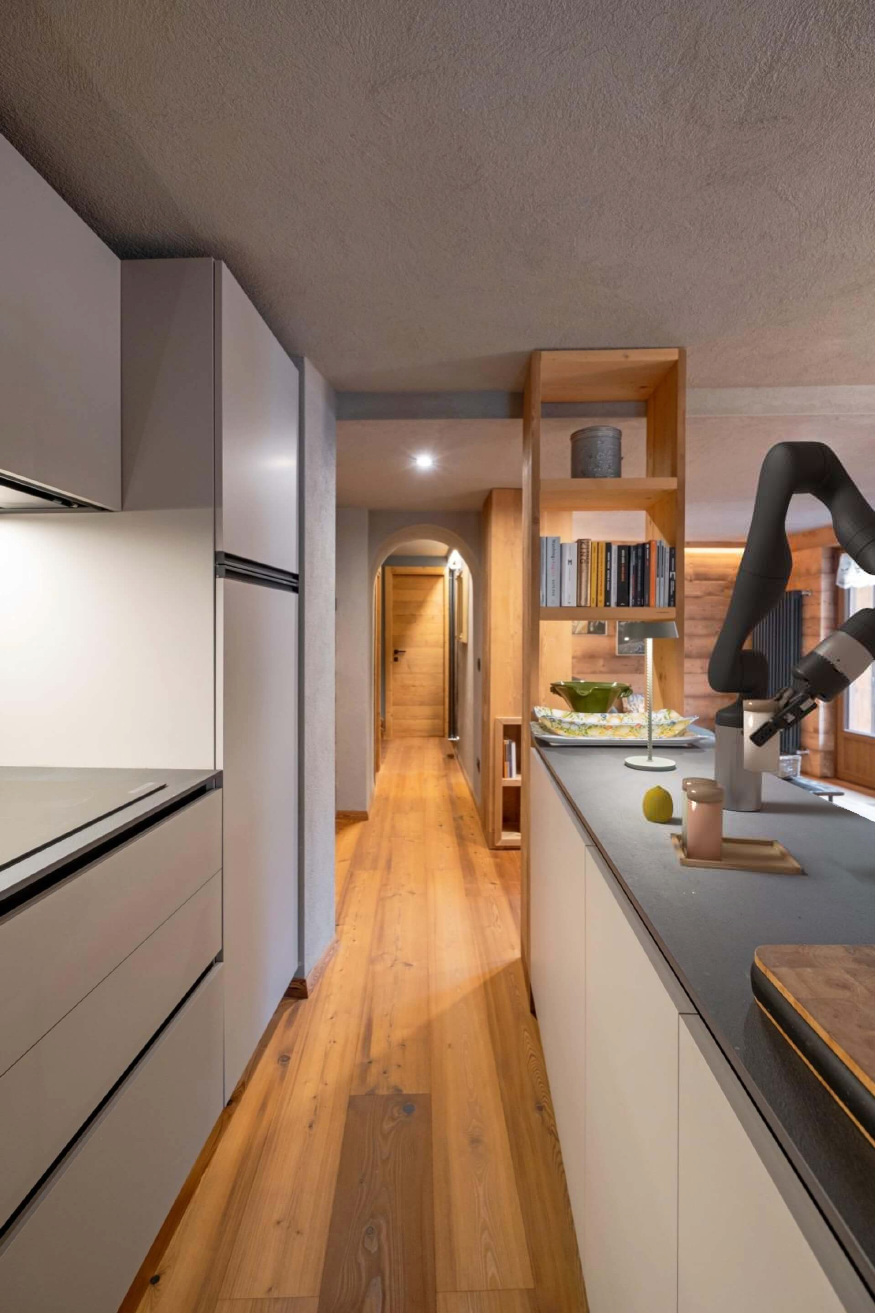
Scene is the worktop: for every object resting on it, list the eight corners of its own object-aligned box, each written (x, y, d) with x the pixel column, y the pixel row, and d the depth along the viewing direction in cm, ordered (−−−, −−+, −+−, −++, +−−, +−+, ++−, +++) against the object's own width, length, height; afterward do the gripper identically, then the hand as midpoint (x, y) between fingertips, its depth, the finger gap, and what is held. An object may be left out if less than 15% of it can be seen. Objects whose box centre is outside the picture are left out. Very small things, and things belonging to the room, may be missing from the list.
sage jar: (679, 840, 115) (680, 776, 114) (712, 843, 113) (714, 778, 113) (683, 851, 109) (684, 783, 109) (719, 853, 108) (720, 785, 108)
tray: (669, 846, 116) (670, 833, 116) (776, 853, 113) (777, 840, 113) (680, 875, 103) (680, 860, 103) (802, 884, 99) (803, 869, 99)
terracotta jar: (683, 851, 109) (684, 784, 109) (719, 853, 108) (720, 785, 108) (688, 862, 104) (689, 791, 103) (725, 865, 103) (727, 793, 102)
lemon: (675, 832, 124) (675, 789, 124) (643, 831, 125) (644, 788, 125) (670, 824, 130) (671, 783, 129) (640, 822, 131) (641, 781, 130)
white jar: (739, 765, 112) (739, 699, 112) (774, 766, 111) (774, 699, 111) (747, 771, 107) (747, 702, 106) (784, 772, 106) (784, 702, 105)
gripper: (798, 648, 114) (722, 718, 116) (829, 650, 100) (742, 729, 102) (833, 680, 113) (755, 750, 115) (869, 686, 99) (779, 765, 101)
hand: (749, 739), depth 109 cm, fingers closed on white jar, 5 cm apart
